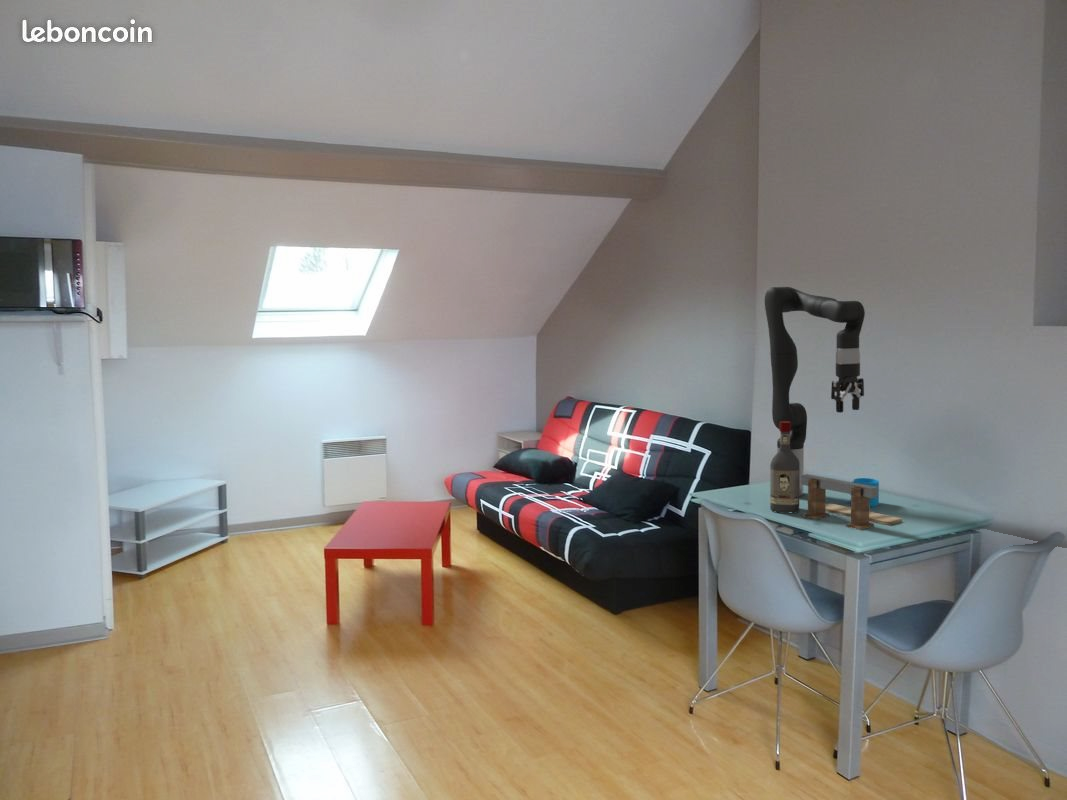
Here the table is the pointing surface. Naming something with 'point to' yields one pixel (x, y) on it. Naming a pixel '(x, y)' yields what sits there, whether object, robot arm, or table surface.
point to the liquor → (784, 475)
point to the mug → (871, 483)
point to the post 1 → (816, 501)
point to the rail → (840, 485)
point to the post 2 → (859, 510)
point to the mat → (872, 516)
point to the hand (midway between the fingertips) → (847, 411)
